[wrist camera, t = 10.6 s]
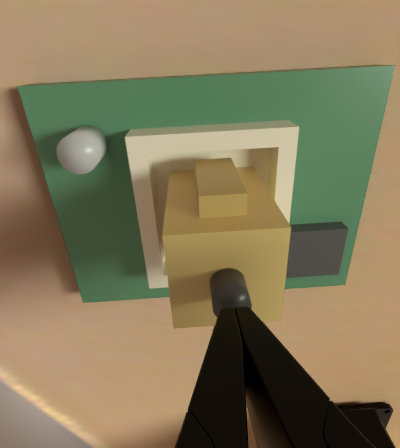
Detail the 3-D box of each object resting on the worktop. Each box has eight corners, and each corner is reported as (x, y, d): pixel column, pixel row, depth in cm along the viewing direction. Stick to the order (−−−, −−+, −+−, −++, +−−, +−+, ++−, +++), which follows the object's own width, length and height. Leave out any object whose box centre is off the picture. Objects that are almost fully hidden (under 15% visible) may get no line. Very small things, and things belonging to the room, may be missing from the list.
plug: (250, 237, 17) (291, 347, 10) (177, 242, 17) (172, 356, 10) (253, 149, 14) (307, 223, 8) (168, 155, 14) (156, 232, 8)
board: (336, 272, 20) (361, 308, 17) (88, 289, 20) (72, 328, 17) (379, 64, 14) (427, 67, 11) (29, 84, 14) (-9, 91, 11)
